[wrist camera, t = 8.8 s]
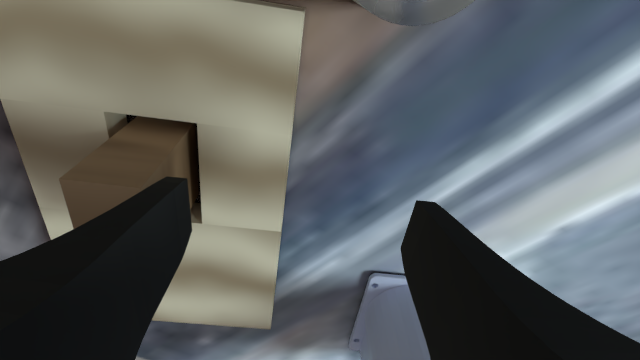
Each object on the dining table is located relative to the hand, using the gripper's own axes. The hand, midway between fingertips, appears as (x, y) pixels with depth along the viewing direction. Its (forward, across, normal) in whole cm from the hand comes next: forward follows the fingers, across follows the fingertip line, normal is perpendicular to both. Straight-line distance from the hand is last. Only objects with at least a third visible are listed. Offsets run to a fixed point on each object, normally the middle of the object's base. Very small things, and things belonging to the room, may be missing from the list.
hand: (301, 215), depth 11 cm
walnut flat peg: (+9, +8, +4) cm, 13 cm away
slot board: (+9, +8, +6) cm, 13 cm away
